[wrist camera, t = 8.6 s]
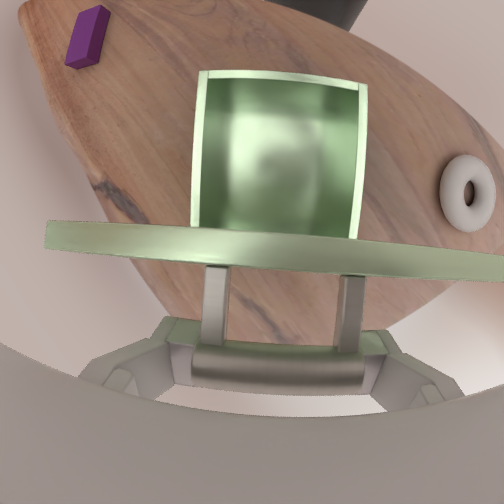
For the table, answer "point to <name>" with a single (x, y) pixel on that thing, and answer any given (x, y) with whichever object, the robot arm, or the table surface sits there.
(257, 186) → the green metal box
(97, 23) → the purple rectangular block
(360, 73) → the table surface
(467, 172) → the donut
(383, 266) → the green box lid
